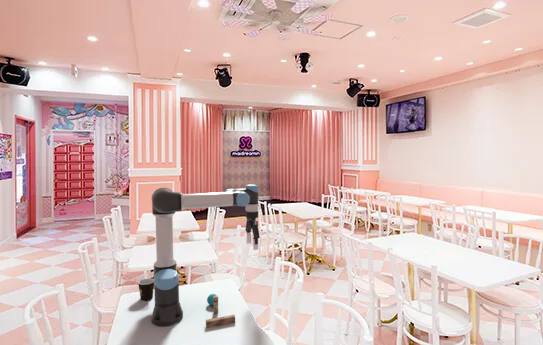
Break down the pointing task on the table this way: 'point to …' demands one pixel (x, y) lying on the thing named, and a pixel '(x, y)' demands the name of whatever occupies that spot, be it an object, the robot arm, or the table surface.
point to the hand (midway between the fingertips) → (252, 246)
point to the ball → (211, 299)
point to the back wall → (220, 321)
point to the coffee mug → (146, 289)
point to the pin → (215, 304)
